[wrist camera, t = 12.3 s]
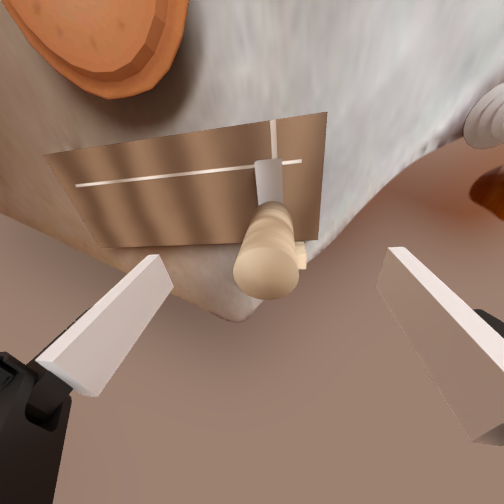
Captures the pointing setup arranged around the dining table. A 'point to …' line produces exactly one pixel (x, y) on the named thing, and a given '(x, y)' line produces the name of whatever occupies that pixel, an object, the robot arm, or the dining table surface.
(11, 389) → the robot arm
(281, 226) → the wooden handled tool
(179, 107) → the dining table surface
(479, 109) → the chalice
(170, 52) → the pie
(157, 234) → the board
